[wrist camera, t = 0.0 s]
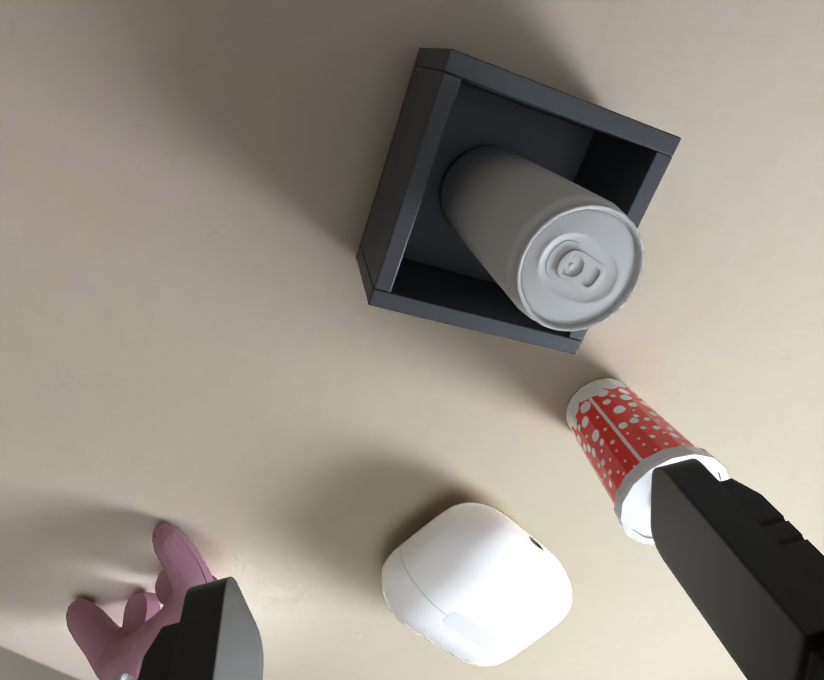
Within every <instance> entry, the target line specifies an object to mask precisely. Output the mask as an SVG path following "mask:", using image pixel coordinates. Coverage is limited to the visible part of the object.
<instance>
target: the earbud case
mask: <svg viewBox="0 0 824 680" xmlns="http://www.w3.org/2000/svg"><path fill="white" fill-rule="evenodd" d="M381 581H382V589H383V595H384V599H385V602H386V604H387V606H388V608H389V610H390V611H391V613H392V614H393V615H394V616H395V617H396V618H397V619H398V620H399V621H400V622H401V623H402V624H404V625H405V626H406V627H408V628H409V629H411V630H412V631H414V632H415V633H417V634H419V635H420V636H422V637H424V638H425V639H427V640H428V641H430V642H432V643H433V644H435V645H437V646H438V647H440V648H442V649H443V650H445V651H446V652H448V653H450V654H452V655H453V656H455V657H457V658H459V659H461V660H463V661H465V662H467V663H470V664H473V665H478V666H492V665H497V664H500V663H502V662H504V661H506V660H508V659H510V658H512V657H513V656H515V655H516V654H517V653H519V652H520V651H522V650H523V649H524V648H526V647H527V646H529V645H530V644H531V643H533V642H534V641H536V640H537V639H538V638H540V637H541V636H542V635H544V634H545V633H547V632H548V631H549V630H551V629H552V628H553V627H555V626H556V625H557V624H558V623H559V622H561V621H562V620H563V618H564V617H565V616H566V615H567V613H568V611H569V609H570V606H571V603H572V588H571V584H570V581H569V578H568V576H567V574H566V572H565V570H564V568H563V566H562V565H561V563H560V562H559V561H558V559H557V558H556V557H555V556H554V555H553V554H552V553H551V552H550V551H549V550H548V549H546V548H545V547H544V546H543V545H542V544H541V543H539V542H538V541H537V540H536V539H535V538H533V537H532V536H531V535H530V534H529V533H527V532H526V531H525V530H524V529H523V528H521V527H520V526H519V525H518V524H517V523H515V522H514V521H513V520H511V519H510V518H509V517H508V516H506V515H505V514H503V513H502V512H500V511H499V510H497V509H495V508H493V507H490V506H488V505H485V504H481V503H475V502H467V503H461V504H458V505H455V506H452V507H450V508H448V509H447V510H445V511H444V512H442V513H441V514H439V515H438V516H437V517H435V518H434V519H433V520H431V521H430V522H429V523H428V524H426V525H425V526H424V527H423V528H421V529H420V530H419V531H417V532H416V533H415V534H414V535H412V536H411V537H410V538H409V539H407V540H406V541H405V542H404V543H402V544H401V545H400V546H399V547H398V548H396V549H395V550H394V551H393V552H392V553H391V555H390V556H389V557H388V559H387V560H386V562H385V564H384V566H383V570H382V576H381Z"/></svg>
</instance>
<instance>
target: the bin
mask: <svg viewBox="0 0 824 680" xmlns="http://www.w3.org/2000/svg"><path fill="white" fill-rule="evenodd" d="M680 140H681V138H680V137H677V136H675V135H672V134H670V133H667V132H665V131H662V130H659V129H657V128H654V127H652V126H649V125H647V124H644V123H641V122H639V121H636V120H634V119H631V118H629V117H626V116H623V115H621V114H618V113H616V112H613V111H611V110H608V109H605V108H603V107H600V106H598V105H595V104H593V103H590V102H587V101H585V100H582V99H580V98H577V97H575V96H572V95H569V94H567V93H564V92H562V91H559V90H557V89H554V88H551V87H549V86H546V85H544V84H541V83H539V82H536V81H533V80H531V79H528V78H526V77H523V76H521V75H518V74H515V73H513V72H510V71H508V70H505V69H503V68H500V67H497V66H495V65H492V64H490V63H487V62H485V61H482V60H479V59H477V58H474V57H472V56H469V55H466V54H464V53H461V52H459V51H456V50H454V49H443V48H419V52H418V55H417V58H416V61H415V65H414V68H413V71H412V75H411V78H410V81H409V85H408V88H407V91H406V95H405V98H404V101H403V104H402V108H401V111H400V114H399V118H398V121H397V124H396V128H395V131H394V134H393V138H392V141H391V144H390V147H389V151H388V154H387V157H386V161H385V164H384V167H383V171H382V174H381V177H380V181H379V184H378V187H377V190H376V194H375V197H374V200H373V204H372V207H371V210H370V214H369V217H368V220H367V224H366V227H365V230H364V233H363V237H362V240H361V243H360V247H359V250H358V253H357V257H356V259H357V262H358V266H359V270H360V273H361V277H362V281H363V285H364V289H365V292H366V296H367V300H368V304H369V305H371V306H376V307H380V308H384V309H388V310H392V311H396V312H400V313H405V314H409V315H413V316H417V317H421V318H425V319H429V320H434V321H438V322H442V323H446V324H450V325H454V326H458V327H463V328H467V329H471V330H475V331H479V332H483V333H488V334H492V335H496V336H500V337H504V338H508V339H512V340H517V341H521V342H525V343H529V344H533V345H537V346H541V347H546V348H550V349H554V350H558V351H562V352H566V353H570V354H576V352H577V350H578V348H579V346H580V344H581V340H583V338H584V336H585V334H586V332H587V330H588V328H587V329H582V330H577V331H558V330H553V329H551V328H548V327H545V326H542V325H541V324H539V323H538V322H537V321H535V320H532V319H531V318H529V317H528V316H527V315H525V314H524V313H523V312H522V311H520V310H519V309H518V308H517V306H516V305H515V304H514V303H513V302H512V300H511V299H510V298H509V297H508V295H507V294H506V293H505V292H504V291H503V289H502V288H501V287H500V286H499V285H498V283H497V282H496V281H495V280H494V278H493V277H492V276H491V275H490V274H489V272H488V271H487V270H486V269H485V268H484V266H483V265H482V264H481V263H480V261H479V260H478V259H477V258H476V257H475V255H474V254H473V253H472V252H471V250H470V249H469V248H468V247H467V246H466V244H465V243H464V242H463V241H462V240H461V238H460V237H459V236H458V235H457V233H456V232H455V231H454V230H453V229H452V227H451V226H450V224H449V223H448V222H447V220H446V219H445V216H444V213H443V210H442V208H441V196H440V195H441V190H442V184H443V181H444V179H445V176H446V174H447V172H448V170H449V169H450V168H451V166H452V165H453V164H454V162H455V161H456V160H457V159H459V158H460V157H461V156H462V155H464V154H465V153H466V152H468V151H471V150H473V149H475V148H478V147H483V146H490V145H492V146H498V147H504V148H506V149H508V150H510V151H512V152H514V153H516V154H518V155H520V156H521V157H523V158H525V159H527V160H529V161H531V162H533V163H535V164H537V165H539V166H541V167H543V168H545V169H547V170H549V171H551V172H553V173H555V174H557V175H559V176H561V177H563V178H565V179H567V180H569V181H571V182H573V183H575V184H577V185H579V186H581V187H583V188H585V189H587V190H589V191H591V192H593V193H595V194H597V195H599V196H601V197H603V198H604V199H606V200H608V201H610V202H612V203H614V204H615V205H616V206H617V207H618V208H619V209H620V210H621V211H622V212H623V213H624V214H626V216H627V217H628V218H629V219H630V220H631V221H632V222H633V223H634V225H635V227H636V229H637V228H638V226H639V224H640V222H641V220H642V218H643V216H644V214H645V211H646V209H647V207H648V205H649V203H650V201H651V199H652V197H653V195H654V193H655V191H656V189H657V187H658V185H659V183H660V181H661V179H662V177H663V175H664V173H665V171H666V169H667V167H668V165H669V162H670V160H671V158H672V157H671V156H673V154H674V152H675V150H676V148H677V146H678V144H679V142H680Z"/></svg>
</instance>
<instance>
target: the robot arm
mask: <svg viewBox="0 0 824 680" xmlns="http://www.w3.org/2000/svg"><path fill="white" fill-rule="evenodd" d="M650 526H651V532H652V536H653V540H654V543H655V545H656V548H657V550H658V552H659V554H660V555H661V557H662V559H663V560H664V562H665V563H666V564H667V566H668V567H669V569H670V570H671V571H672V573H673V574H674V576H675V577H676V579H677V580H678V581H679V583H680V584H681V586H682V587H683V589H684V590H685V591H686V593H687V594H688V596H689V597H690V598H691V600H692V601H693V603H694V604H695V606H696V607H697V608H698V610H699V611H700V613H701V614H702V616H703V617H704V618H705V620H706V621H707V623H708V624H709V626H710V627H711V628H712V630H713V631H714V633H715V634H716V635H717V637H718V638H719V640H720V641H721V643H722V644H723V645H724V647H725V648H726V650H727V651H728V653H729V654H730V655H731V657H732V658H733V660H734V661H735V662H736V664H737V665H738V667H739V668H740V670H741V671H742V672H743V674H744V675H745V677H746V678H747V680H824V555H823V554H821V553H820V552H819V551H818V550H817V549H816V548H815V547H814V546H813V545H812V544H811V543H810V542H809V541H808V540H804V538H803V537H802V534H801V533H800V532H799V531H798V530H797V529H796V528H795V527H794V526H793V525H792V524H791V523H790V522H789V521H785V520H784V516H783V515H782V514H781V513H780V512H779V511H778V510H777V509H776V508H775V507H773V506H772V505H771V504H770V503H769V502H768V501H767V500H766V499H765V498H764V497H763V496H762V495H761V494H759V493H758V492H756V491H754V490H752V489H750V488H748V487H747V486H745V485H743V484H741V483H739V482H737V481H736V480H734V479H732V478H731V479H727V480H723V481H719V480H718V479H717V478H716V477H715V476H714V475H713V474H712V473H711V472H710V471H709V470H708V469H707V468H706V467H705V466H704V465H703V464H702V463H701V462H700V461H699V460H697V459H694V458H692V459H688V460H684V461H680V462H676V463H672V464H668V465H664V466H661V467H657V468H655V469H654V470H653V472H652V484H651V519H650ZM138 680H263V648H262V641H261V637H260V633H259V630H258V627H257V625H256V623H255V621H254V618H253V616H252V614H251V612H250V610H249V608H248V606H247V603H246V601H245V599H244V597H243V595H242V593H241V591H240V588H239V586H238V584H237V582H236V580H235V579H234V578H233V577H227V578H223V579H220V580H216V581H212V582H208V583H204V584H200V585H196V586H193V587H190V588H189V589H188V590H187V592H186V595H185V599H184V604H183V608H182V613H181V618H180V622H178V623H174V624H170V625H167V626H163V627H162V628H161V630H160V631H159V633H158V634H157V636H156V638H155V639H154V641H153V642H152V644H151V646H150V647H149V649H148V651H147V652H146V654H145V655H144V657H143V661H142V664H141V668H140V672H139V676H138Z"/></svg>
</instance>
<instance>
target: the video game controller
mask: <svg viewBox="0 0 824 680" xmlns="http://www.w3.org/2000/svg"><path fill="white" fill-rule="evenodd" d="M152 542H153V546H154V551H155V553H156V555H157V557H158V559H159V561H160V562H161V564H162V566H163V569H162V571H161V572H160V574H159V576H158V578H157V581H156V588H155V590H156V594H154V593H136V594H134V595H133V596H132V597H131V598H130V599H129V600H128V602H127V604H126V607H125V611H124V619H123V625H122V628H121V627H119V626H118V625H117V624H116V623H115V622H114V621H113V620H112V619H111V618H110V617H109V616H108V615H107V614H106V613H105V612H104V611H103V610H102V609H101V608H100V607H98V606H97V605H95V604H94V603H93V602H90V601H88V600H86V599H78V600H75V601H73V602H72V603H71V604H70V606H69V607H68V610H67V613H66V620H67V626H68V629H69V631H70V633H71V635H72V636H73V638H74V640H75V641H76V643H77V644H78V646H79V647H80V649H81V650H82V652H83V653H84V654H85V656H86V657H87V659H88V661H89V663H90V665H91V667H92V669H93V670H94V672H95V674H96V676H97V677H98V678H99V679H100V680H138V676H139V672H140V668H141V664H142V661H143V657H144V655H145V654H146V652H147V651H148V649H149V647H150V646H151V644H152V642H153V641H154V639H155V638H156V636H157V634H158V633H159V631H160V630H161V628H162V627H163V626H167V625H170V624H174V623H178V622H180V618H181V613H182V608H183V604H184V599H185V595H186V592H187V590H188V589H189V588H190V587H193V586H196V585H200V584H204V583H208V582H212V581H216V580H217V579H216V578H215V577H214V576H212V575H211V573H210V571H209V569H208V567H207V565H206V563H205V562H204V560H203V558H202V557H201V555H200V553H199V552H198V550H197V548H196V547H195V546H194V544H193V543H192V542H191V540H190V539H189V538H188V537H187V536H186V535H185V534H184V533H183V532H182V531H180V530H179V529H178V528H177V527H175V526H173V525H171V524H168V523H163V524H159V525H158V526H156V527H155V528H154V530H153V534H152ZM159 601H160V603H162V604H163V605H164V606H163V607H162V609H160V603H159Z"/></svg>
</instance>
